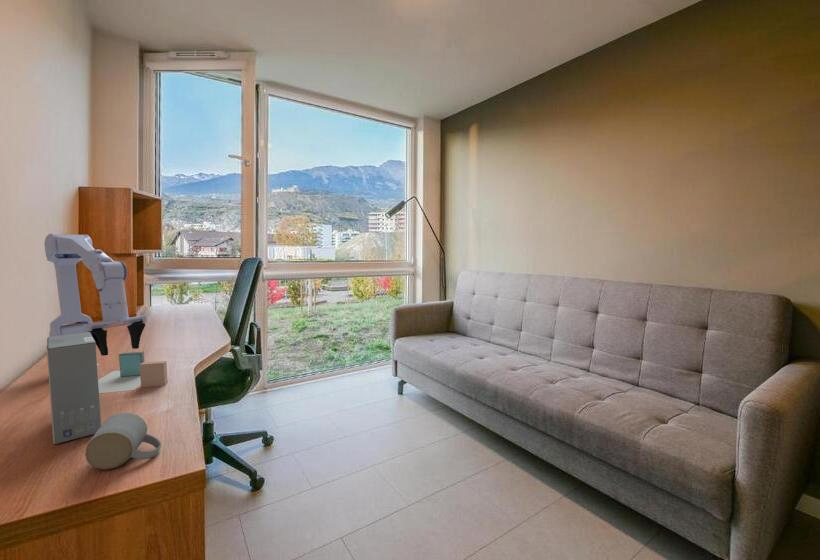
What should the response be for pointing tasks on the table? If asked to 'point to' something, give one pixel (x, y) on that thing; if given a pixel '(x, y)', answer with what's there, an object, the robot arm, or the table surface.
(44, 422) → the table surface
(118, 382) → the felt mat
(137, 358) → the glazed tile
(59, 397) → the hard drive box
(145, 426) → the ceramic mug
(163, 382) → the plain tile
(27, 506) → the table surface
